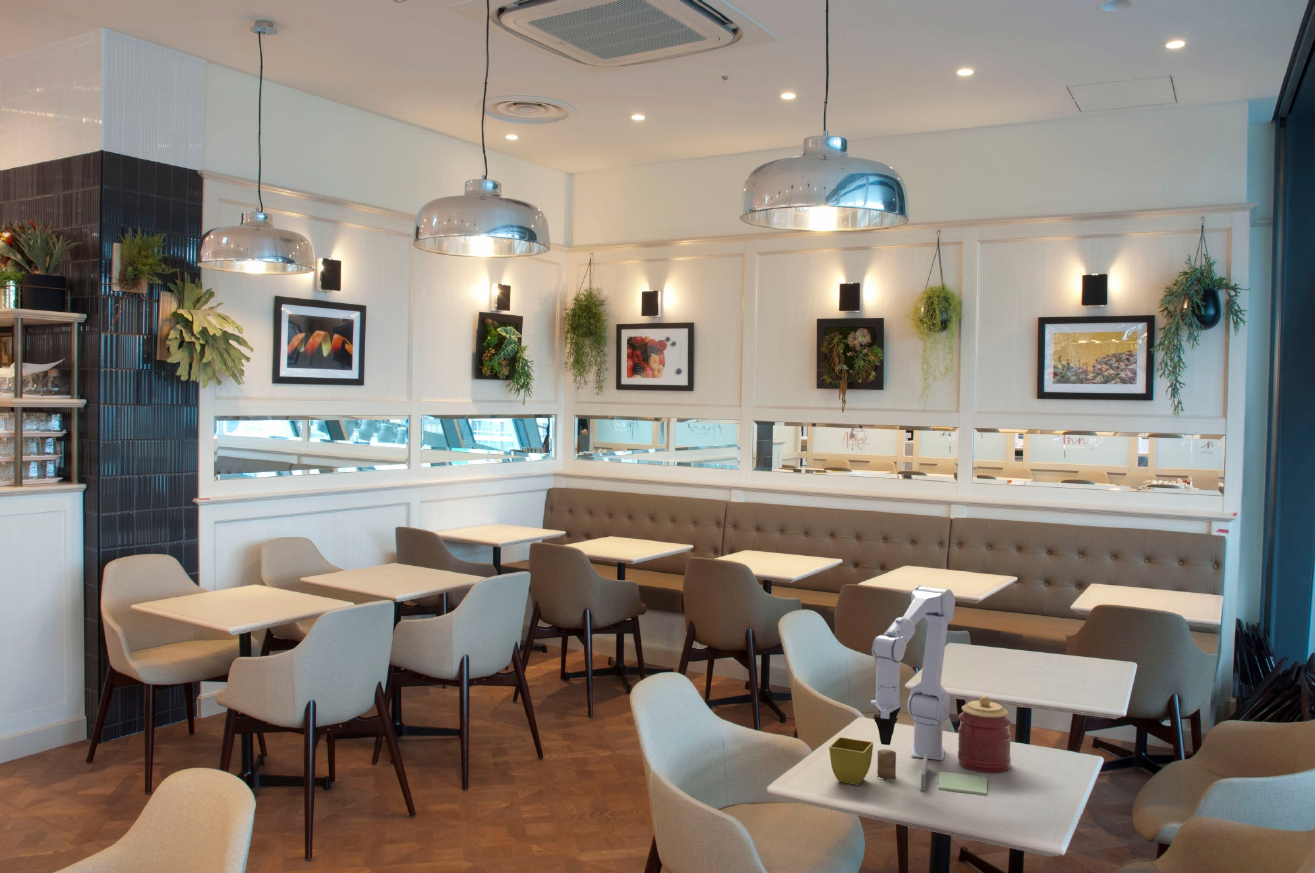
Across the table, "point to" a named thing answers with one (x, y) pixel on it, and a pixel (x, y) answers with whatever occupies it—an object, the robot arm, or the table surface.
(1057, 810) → the table surface
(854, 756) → the flower pot
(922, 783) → the grey wall
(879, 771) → the walnut cylinder
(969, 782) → the green mat
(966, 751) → the canister
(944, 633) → the robot arm
